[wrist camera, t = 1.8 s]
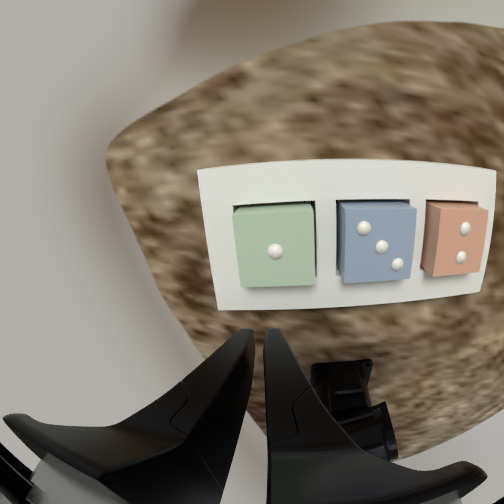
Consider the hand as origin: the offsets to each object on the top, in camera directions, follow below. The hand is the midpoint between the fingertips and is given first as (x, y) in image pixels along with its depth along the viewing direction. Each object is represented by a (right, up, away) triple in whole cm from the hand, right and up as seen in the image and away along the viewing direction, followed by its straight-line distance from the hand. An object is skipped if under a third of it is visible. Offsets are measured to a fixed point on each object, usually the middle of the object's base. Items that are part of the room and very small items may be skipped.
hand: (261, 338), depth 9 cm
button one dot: (+2, +4, +11) cm, 12 cm away
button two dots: (+15, +5, +9) cm, 18 cm away
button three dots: (+8, +4, +10) cm, 14 cm away
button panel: (+9, +5, +11) cm, 15 cm away
